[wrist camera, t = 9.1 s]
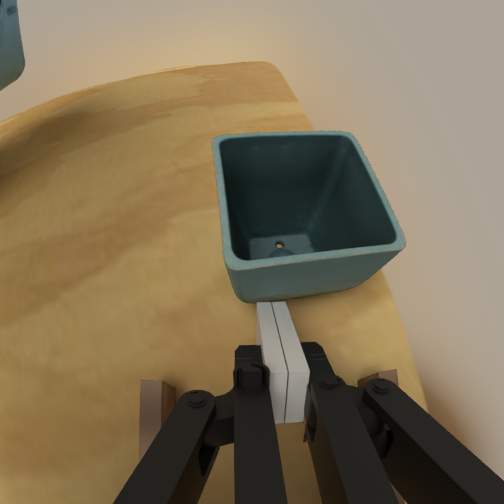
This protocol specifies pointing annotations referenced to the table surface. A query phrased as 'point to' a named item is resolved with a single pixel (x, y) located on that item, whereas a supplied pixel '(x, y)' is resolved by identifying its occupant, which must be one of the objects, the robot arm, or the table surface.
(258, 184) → the flower pot
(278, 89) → the table surface
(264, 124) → the table surface
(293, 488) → the table surface
